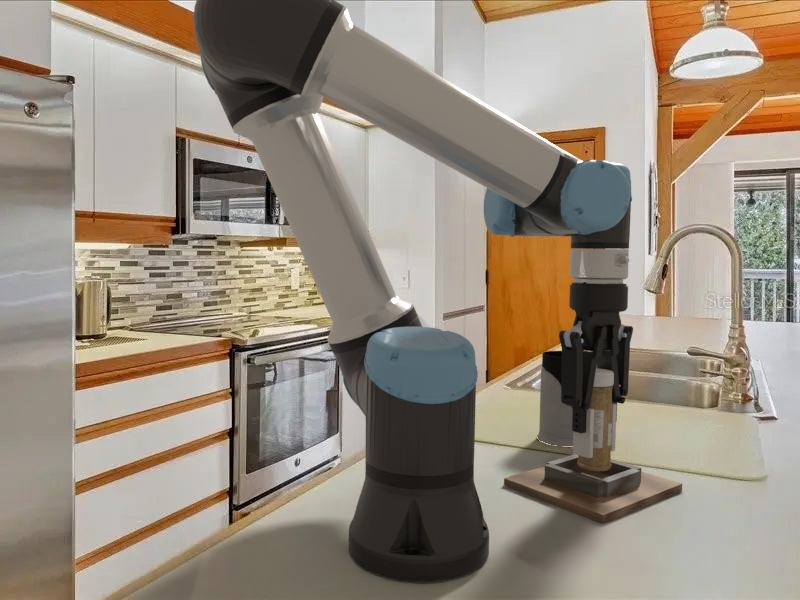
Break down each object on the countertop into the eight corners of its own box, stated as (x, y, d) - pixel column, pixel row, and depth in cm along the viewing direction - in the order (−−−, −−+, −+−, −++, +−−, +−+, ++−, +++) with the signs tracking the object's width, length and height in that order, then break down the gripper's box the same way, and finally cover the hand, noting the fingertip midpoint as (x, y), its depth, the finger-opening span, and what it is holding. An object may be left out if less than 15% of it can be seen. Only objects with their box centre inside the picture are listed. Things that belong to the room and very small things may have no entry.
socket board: (603, 523, 78) (604, 498, 78) (503, 485, 91) (504, 463, 91) (682, 490, 89) (682, 469, 89) (583, 460, 102) (584, 441, 102)
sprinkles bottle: (618, 468, 89) (621, 371, 88) (595, 475, 87) (598, 374, 86) (591, 459, 93) (594, 366, 92) (569, 465, 91) (571, 369, 90)
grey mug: (528, 434, 117) (530, 350, 116) (602, 431, 119) (605, 349, 118) (548, 448, 108) (551, 358, 107) (628, 445, 111) (631, 356, 110)
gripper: (582, 284, 80) (577, 472, 82) (659, 280, 91) (654, 447, 92) (534, 281, 86) (530, 457, 87) (612, 278, 96) (608, 435, 98)
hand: (594, 451), depth 90 cm, fingers closed on sprinkles bottle, 4 cm apart
